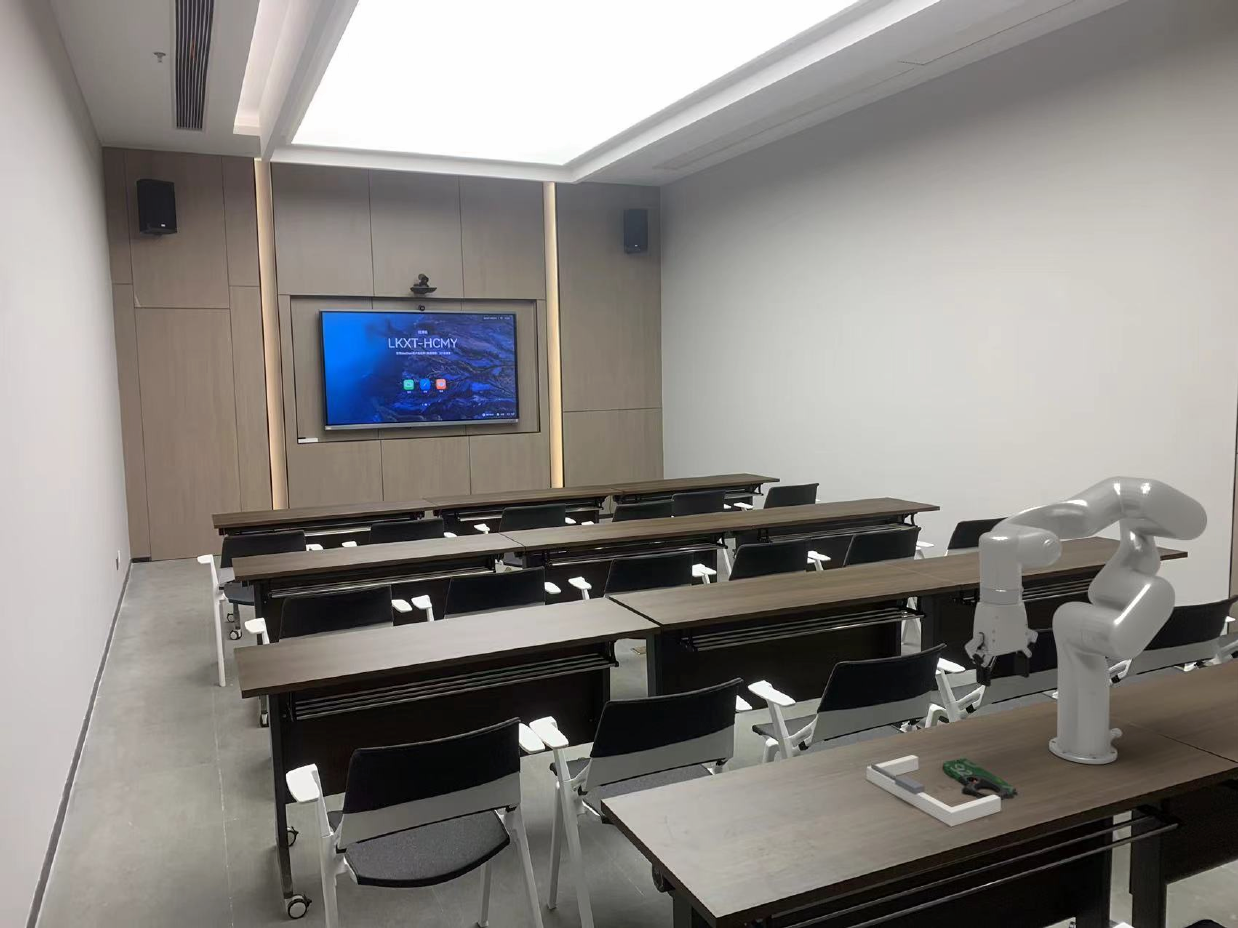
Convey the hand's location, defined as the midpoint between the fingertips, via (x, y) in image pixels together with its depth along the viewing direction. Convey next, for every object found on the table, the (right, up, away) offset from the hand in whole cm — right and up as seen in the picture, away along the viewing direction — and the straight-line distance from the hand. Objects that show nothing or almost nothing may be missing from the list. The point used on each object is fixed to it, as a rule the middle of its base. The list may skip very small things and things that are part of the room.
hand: (1002, 680), depth 176 cm
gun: (-7, -20, -2) cm, 21 cm away
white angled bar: (-17, -20, -6) cm, 27 cm away
